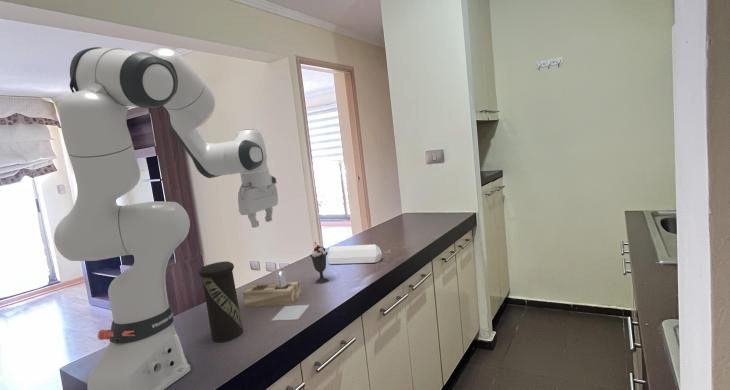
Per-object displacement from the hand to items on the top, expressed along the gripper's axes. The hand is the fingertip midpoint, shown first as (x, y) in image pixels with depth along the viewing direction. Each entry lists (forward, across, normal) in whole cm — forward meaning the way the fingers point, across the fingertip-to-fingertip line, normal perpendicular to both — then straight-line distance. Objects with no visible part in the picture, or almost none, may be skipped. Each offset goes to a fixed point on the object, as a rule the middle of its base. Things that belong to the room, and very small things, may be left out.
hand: (262, 224), depth 125 cm
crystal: (+26, +40, -18) cm, 51 cm away
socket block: (+26, -1, 0) cm, 26 cm away
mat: (+26, -11, -10) cm, 30 cm away
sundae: (+26, +17, -11) cm, 33 cm away
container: (+26, -24, +2) cm, 35 cm away
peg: (+26, -1, -4) cm, 26 cm away
